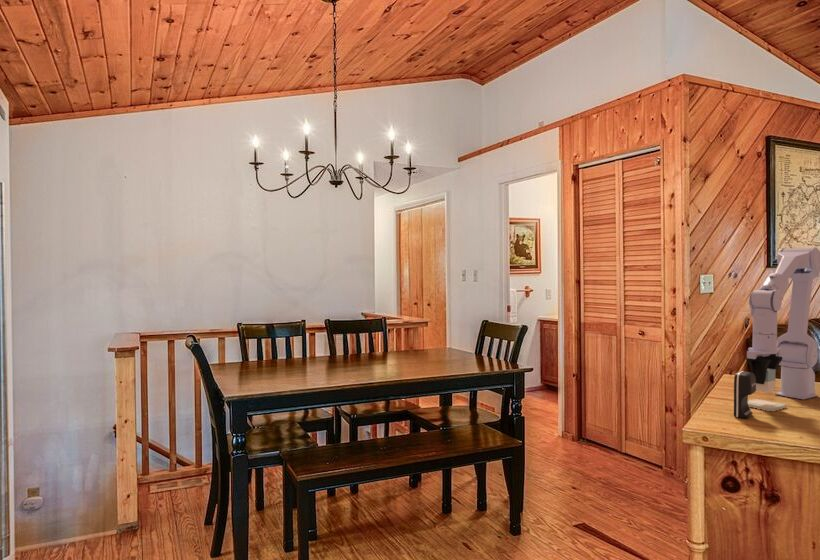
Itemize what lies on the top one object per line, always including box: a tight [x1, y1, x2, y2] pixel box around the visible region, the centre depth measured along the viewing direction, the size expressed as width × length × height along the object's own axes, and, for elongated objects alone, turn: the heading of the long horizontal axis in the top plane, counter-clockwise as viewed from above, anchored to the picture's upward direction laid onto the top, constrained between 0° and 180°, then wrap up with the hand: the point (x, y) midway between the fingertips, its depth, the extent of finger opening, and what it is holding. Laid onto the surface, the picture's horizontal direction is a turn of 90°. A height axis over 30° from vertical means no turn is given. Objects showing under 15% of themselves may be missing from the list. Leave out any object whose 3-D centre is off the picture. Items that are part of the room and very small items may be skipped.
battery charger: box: [733, 370, 756, 419], centre depth 149 cm, size 7×4×11 cm, turn 137°
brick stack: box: [755, 368, 777, 394], centre depth 158 cm, size 4×4×6 cm
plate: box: [748, 398, 787, 412], centre depth 159 cm, size 8×8×1 cm
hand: (763, 382), depth 158 cm, fingers closed on brick stack, 4 cm apart
